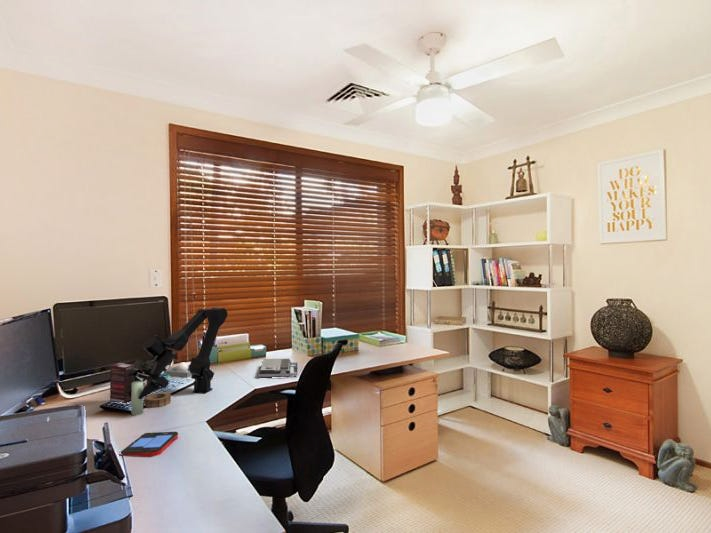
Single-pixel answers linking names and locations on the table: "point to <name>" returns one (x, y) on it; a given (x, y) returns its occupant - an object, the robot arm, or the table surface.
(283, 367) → the radio
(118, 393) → the supplement box
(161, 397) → the brown segmented ring
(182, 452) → the table surface
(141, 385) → the dowel
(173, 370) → the mouse tray
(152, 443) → the red dual-screen device
